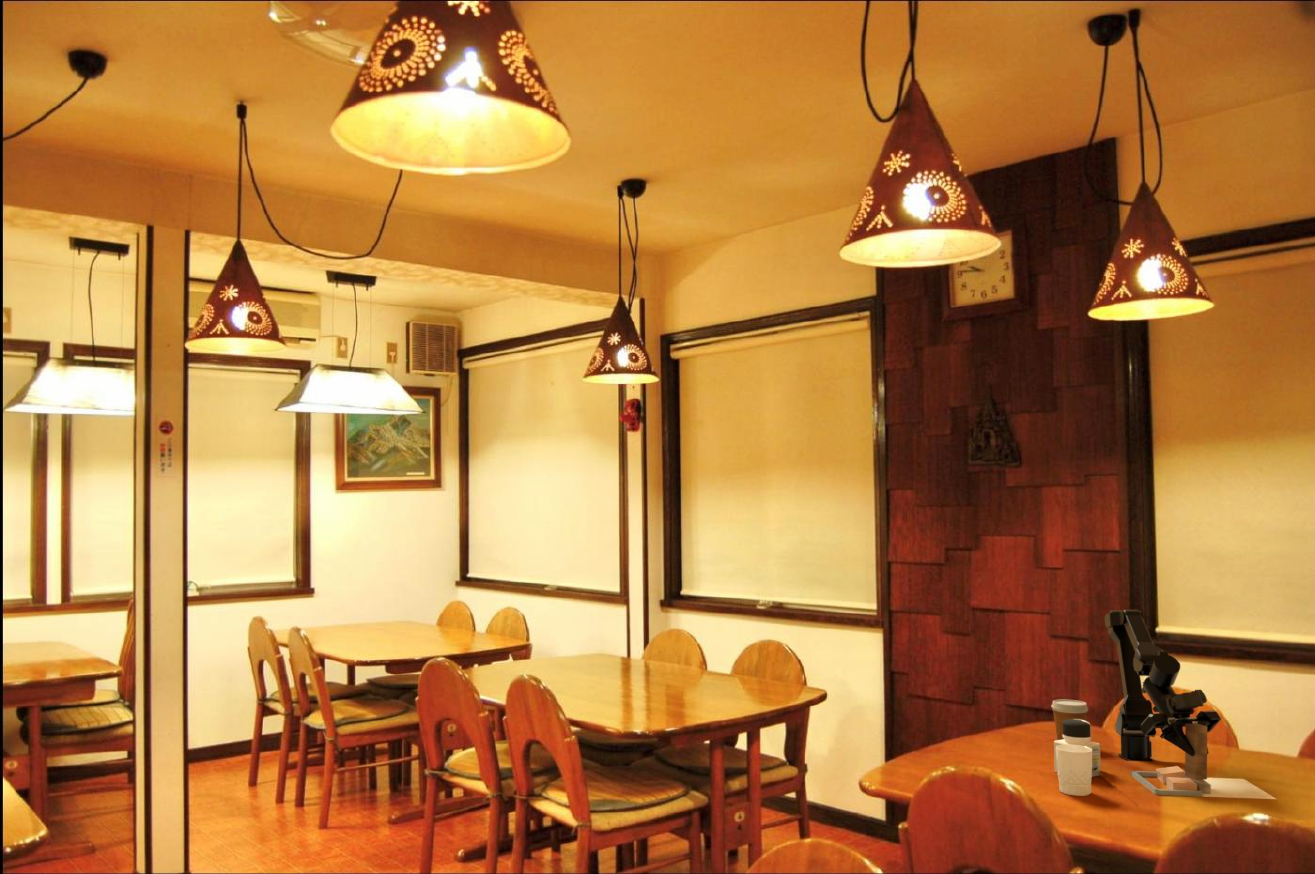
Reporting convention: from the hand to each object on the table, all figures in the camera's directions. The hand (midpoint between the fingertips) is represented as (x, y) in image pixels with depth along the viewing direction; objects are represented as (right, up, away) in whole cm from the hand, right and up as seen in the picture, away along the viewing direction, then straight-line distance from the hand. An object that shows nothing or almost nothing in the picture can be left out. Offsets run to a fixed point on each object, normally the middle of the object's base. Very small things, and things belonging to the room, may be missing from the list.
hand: (1200, 754), depth 240 cm
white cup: (-29, -9, 0) cm, 30 cm away
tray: (-7, -9, +2) cm, 11 cm away
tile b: (-4, -8, +5) cm, 10 cm away
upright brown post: (-1, -8, +1) cm, 8 cm away
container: (-22, -10, +17) cm, 29 cm away
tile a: (-5, -8, -2) cm, 10 cm away
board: (+6, -9, 0) cm, 10 cm away
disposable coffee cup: (-12, -12, +45) cm, 48 cm away
